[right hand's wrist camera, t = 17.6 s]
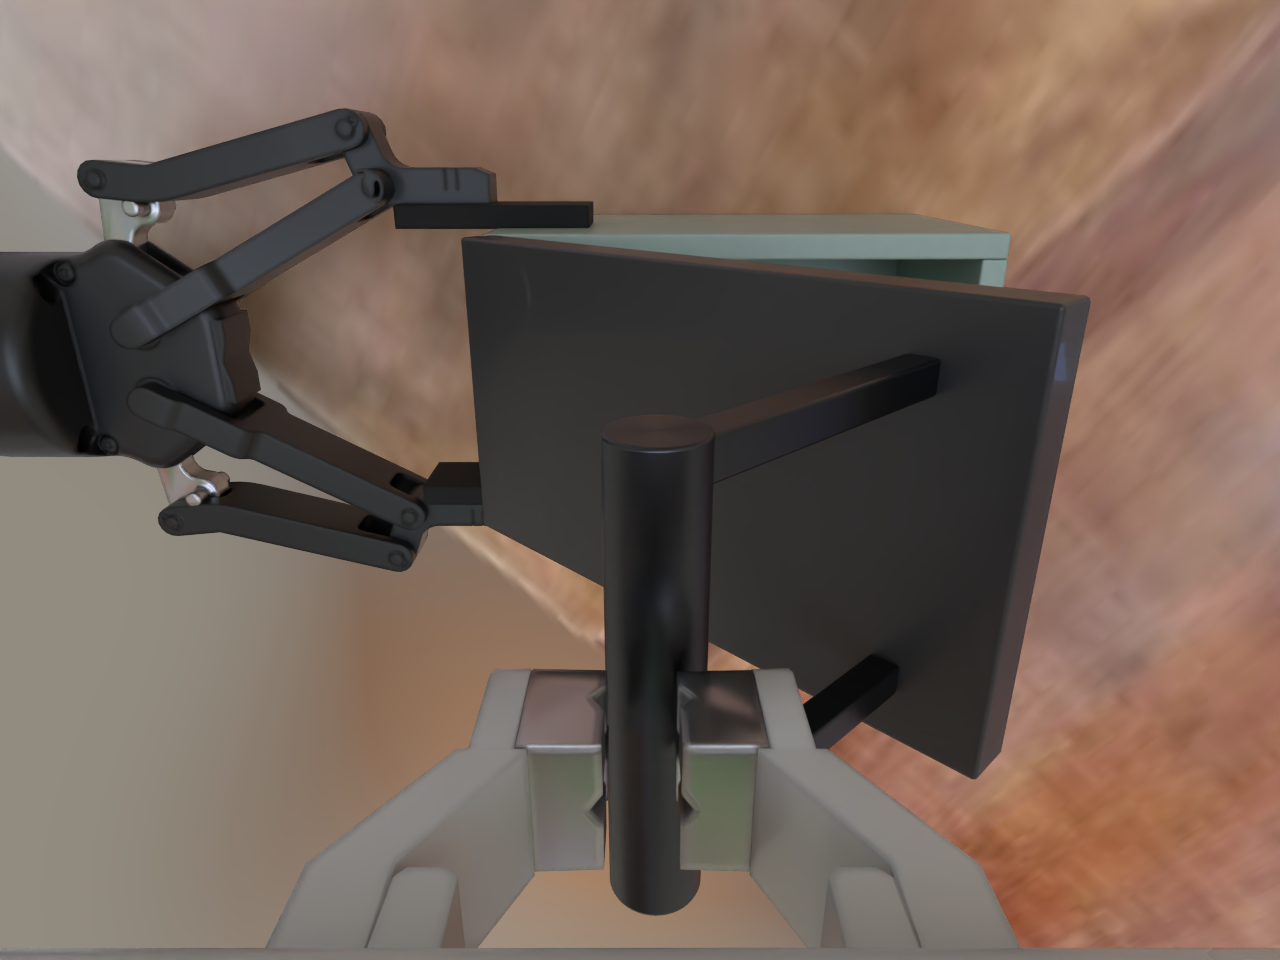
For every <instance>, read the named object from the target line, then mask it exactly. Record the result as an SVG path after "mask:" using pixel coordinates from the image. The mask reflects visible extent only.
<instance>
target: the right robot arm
mask: <svg viewBox="0 0 1280 960" xmlns="http://www.w3.org/2000/svg"><path fill="white" fill-rule="evenodd" d="M675 701H676V720H677V724H676V725H675V788H676V800H677V801H678V841H679V856H680V870H716V871H750V876H751V877H752V878H753V879H754V881H755V882H756V883H757V885H758V886H759V887H760V888H761V890H762V891H763V892H764V893H765V895H766V896H767V897H768V898H769V900H770V901H771V902H772V904H773V905H774V906H775V907H776V909H777V910H778V911H779V912H780V914H781V915H782V916H783V917H784V919H785V920H786V921H787V923H788V924H789V925H790V926H791V928H792V929H793V930H794V931H795V933H796V934H797V935H798V936H799V938H800V939H801V940H802V941H803V943H804V944H805V945H806V947H807V948H478V946H479V945H480V944H481V943H482V941H483V940H484V939H485V938H486V936H487V935H488V934H489V933H490V931H491V930H492V929H493V927H494V926H495V925H496V924H497V922H498V921H499V920H500V919H501V917H502V916H503V915H504V914H505V912H506V911H507V910H508V908H509V907H510V906H511V905H512V903H513V902H514V901H515V899H516V898H517V897H518V896H519V895H520V893H521V892H522V891H523V889H524V888H525V887H526V886H527V884H528V883H529V882H530V881H531V879H532V878H533V877H534V871H566V870H602V869H604V859H605V841H606V801H607V800H608V779H609V726H608V725H607V717H608V675H607V670H560V669H533V670H531V669H495V670H494V671H493V672H492V673H491V674H490V677H489V680H488V683H487V687H486V690H485V693H484V697H483V700H482V704H481V707H480V710H479V714H478V717H477V721H476V724H475V727H474V731H473V734H472V737H471V741H470V744H469V748H468V749H456V750H455V751H454V752H452V753H451V754H450V755H448V756H447V757H446V758H444V759H443V760H442V761H440V762H439V763H438V764H436V765H435V766H434V767H432V768H431V769H430V770H428V771H427V772H426V773H424V774H423V775H422V776H421V777H419V778H418V779H417V780H415V781H414V782H413V783H411V784H410V785H409V786H407V787H406V788H405V789H403V790H402V791H401V792H399V793H398V794H397V795H395V796H394V797H393V798H392V799H390V800H389V801H388V802H386V803H385V804H384V805H382V806H381V807H380V808H378V809H377V810H376V811H374V812H373V813H372V814H370V815H369V816H368V817H366V818H365V819H364V820H362V821H361V822H360V823H358V824H357V825H356V826H355V827H353V828H352V829H351V830H349V831H348V832H347V833H345V834H344V835H343V836H341V837H340V838H339V839H337V840H336V841H335V842H333V843H332V844H331V845H329V846H328V847H327V848H325V849H324V850H323V851H322V852H320V853H319V854H318V855H316V856H315V857H314V858H312V859H311V860H310V861H308V862H307V863H306V865H305V867H304V869H303V871H302V873H301V875H300V877H299V879H298V881H297V883H296V885H295V887H294V889H293V891H292V893H291V896H290V898H289V900H288V902H287V904H286V906H285V908H284V910H283V912H282V914H281V916H280V918H279V920H278V923H277V925H276V927H275V929H274V931H273V933H272V935H271V937H270V939H269V941H268V943H267V945H266V947H265V948H0V960H1280V948H1021V947H1020V945H1019V943H1018V941H1017V939H1016V937H1015V935H1014V933H1013V931H1012V928H1011V926H1010V924H1009V922H1008V920H1007V918H1006V916H1005V914H1004V912H1003V910H1002V908H1001V906H1000V904H999V902H998V900H997V897H996V895H995V893H994V891H993V889H992V887H991V885H990V883H989V881H988V879H987V877H986V875H985V873H984V871H983V869H982V867H981V864H979V863H978V862H977V861H975V860H974V859H973V858H971V857H970V856H969V855H967V854H966V853H965V852H963V851H962V850H961V849H959V848H958V847H957V846H955V845H954V844H953V843H951V842H950V841H949V840H947V839H946V838H945V837H944V836H942V835H941V834H940V833H938V832H937V831H936V830H934V829H933V828H932V827H930V826H929V825H928V824H926V823H925V822H924V821H922V820H921V819H920V818H918V817H917V816H916V815H914V814H913V813H912V812H910V811H909V810H908V809H906V808H905V807H904V806H902V805H901V804H900V803H899V802H897V801H896V800H895V799H893V798H892V797H891V796H889V795H888V794H887V793H885V792H884V791H883V790H881V789H880V788H879V787H877V786H876V785H875V784H873V783H872V782H871V781H869V780H868V779H867V778H865V777H864V776H863V775H861V774H860V773H859V772H858V771H856V770H855V769H854V768H852V767H851V766H850V765H848V764H847V763H846V762H844V761H843V760H842V759H840V758H839V757H838V756H836V755H835V754H834V753H832V752H831V751H830V750H828V749H816V746H815V743H814V739H813V736H812V733H811V730H810V726H809V723H808V720H807V717H806V713H805V710H804V707H803V704H802V700H801V697H800V694H799V691H798V687H797V684H796V681H795V678H794V674H793V672H792V671H791V670H790V669H789V668H780V669H752V670H735V671H676V692H675Z"/></svg>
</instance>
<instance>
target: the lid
mask: <svg viewBox="0 0 1280 960" xmlns="http://www.w3.org/2000/svg"><path fill="white" fill-rule="evenodd" d="M461 243H462V256H463V268H464V281H465V293H466V305H467V318H468V330H469V343H470V355H471V368H472V380H473V392H474V405H475V417H476V430H477V442H478V455H479V467H480V479H481V492H482V504H483V517H484V524H485V525H486V526H488V527H490V528H492V529H494V530H496V531H498V532H500V533H502V534H503V535H505V536H507V537H509V538H511V539H513V540H515V541H517V542H519V543H521V544H523V545H524V546H526V547H528V548H530V549H532V550H534V551H536V552H538V553H540V554H542V555H544V556H546V557H547V558H549V559H551V560H553V561H555V562H557V563H559V564H561V565H563V566H565V567H567V568H569V569H570V570H572V571H574V572H576V573H578V574H580V575H582V576H584V577H586V578H588V579H590V580H592V581H593V582H595V583H597V584H599V585H601V586H603V587H604V622H605V668H606V670H607V675H608V717H607V725H608V726H609V779H608V808H609V853H610V882H611V886H612V889H613V891H614V893H615V895H616V896H617V897H618V899H619V900H620V901H621V902H622V903H623V904H624V905H625V906H627V907H628V908H630V909H631V910H633V911H636V912H638V913H641V914H646V915H655V916H656V915H666V914H670V913H673V912H676V911H678V910H680V909H682V908H683V907H685V906H686V905H687V904H688V903H689V902H690V901H691V900H692V899H693V897H694V896H695V895H696V893H697V891H698V888H699V885H700V875H701V870H680V856H679V841H678V801H677V800H676V788H675V725H676V724H677V720H676V701H675V692H676V671H707V664H708V642H710V643H712V644H714V645H716V646H718V647H720V648H722V649H724V650H726V651H728V652H729V653H731V654H733V655H735V656H737V657H739V658H741V659H743V660H745V661H747V662H749V663H751V664H752V665H754V666H756V667H758V668H760V669H780V668H789V669H790V670H791V671H792V672H793V674H794V678H795V681H796V684H797V687H798V689H800V690H802V691H804V692H806V693H808V694H810V695H812V696H814V697H812V698H811V699H810V700H808V701H807V702H806V703H804V704H803V707H804V710H805V713H806V717H807V720H808V723H809V726H810V730H811V733H812V736H813V739H814V743H815V746H816V749H830V748H831V747H832V746H833V745H834V744H836V743H837V742H838V741H839V740H840V739H842V738H843V737H844V736H845V735H846V734H847V733H849V732H850V731H851V730H852V729H853V728H855V727H856V726H857V725H858V724H859V723H861V722H864V723H865V724H867V725H869V726H871V727H873V728H875V729H877V730H879V731H881V732H883V733H885V734H887V735H888V736H890V737H892V738H894V739H896V740H898V741H900V742H902V743H904V744H906V745H908V746H910V747H911V748H913V749H915V750H917V751H919V752H921V753H923V754H925V755H927V756H929V757H931V758H933V759H934V760H936V761H938V762H940V763H942V764H944V765H946V766H948V767H950V768H952V769H954V770H955V771H957V772H959V773H961V774H963V775H965V776H967V777H969V778H971V779H977V778H978V776H979V775H980V774H981V773H982V772H983V771H984V770H985V769H986V768H987V766H988V765H989V764H990V763H991V762H992V761H993V760H994V759H995V758H996V756H997V755H998V754H999V753H1000V752H1001V748H1002V743H1003V738H1004V733H1005V728H1006V723H1007V718H1008V713H1009V708H1010V703H1011V698H1012V693H1013V688H1014V683H1015V678H1016V673H1017V668H1018V663H1019V658H1020V653H1021V648H1022V643H1023V638H1024V633H1025V628H1026V623H1027V618H1028V613H1029V608H1030V603H1031V598H1032V593H1033V588H1034V583H1035V578H1036V573H1037V568H1038V563H1039V558H1040V553H1041V548H1042V543H1043V538H1044V533H1045V528H1046V523H1047V518H1048V513H1049V508H1050V503H1051V498H1052V493H1053V488H1054V483H1055V478H1056V473H1057V468H1058V463H1059V458H1060V453H1061V448H1062V443H1063V438H1064V433H1065V428H1066V423H1067V418H1068V413H1069V408H1070V403H1071V398H1072V393H1073V388H1074V383H1075V378H1076V373H1077V368H1078V363H1079V357H1080V352H1081V347H1082V342H1083V337H1084V332H1085V327H1086V322H1087V317H1088V312H1089V307H1090V298H1089V297H1087V296H1083V295H1073V294H1063V293H1054V292H1044V291H1034V290H1024V289H1015V288H1005V287H995V286H985V285H976V284H966V283H956V282H946V281H937V280H927V279H917V278H907V277H898V276H888V275H878V274H868V273H859V272H849V271H839V270H829V269H820V268H810V267H800V266H790V265H781V264H771V263H761V262H751V261H742V260H732V259H722V258H712V257H703V256H693V255H683V254H673V253H664V252H654V251H644V250H634V249H625V248H615V247H605V246H595V245H586V244H576V243H566V242H556V241H547V240H537V239H527V238H517V237H508V236H498V235H488V236H475V237H464V238H462V240H461Z"/></svg>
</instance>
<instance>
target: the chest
mask: <svg viewBox="0 0 1280 960" xmlns="http://www.w3.org/2000/svg"><path fill="white" fill-rule="evenodd" d="M488 235H498V236H508V237H517V238H527V239H537V240H547V241H556V242H566V243H576V244H586V245H595V246H605V247H615V248H625V249H634V250H644V251H654V252H664V253H673V254H683V255H693V256H703V257H712V258H722V259H732V260H742V261H751V262H761V263H771V264H781V265H790V266H800V267H810V268H820V269H829V270H839V271H849V272H859V273H868V274H878V275H888V276H898V277H907V278H917V279H927V280H937V281H946V282H956V283H966V284H976V285H985V286H995V287H1003V285H1004V279H1005V273H1006V267H1007V260H1005V259H1006V258H1007V257H1008V252H1009V245H1010V239H1011V234H1010V233H1007V232H1002V231H997V230H992V229H987V228H982V227H977V226H972V225H967V224H962V223H957V222H952V221H947V220H942V219H937V218H932V217H926V216H921V215H917V214H665V215H593V224H592V225H591V226H590V227H589V228H497V229H495V230H493V231H491V232H488V233H486V234H484V235H483V236H488Z"/></svg>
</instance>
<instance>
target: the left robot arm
mask: <svg viewBox="0 0 1280 960" xmlns="http://www.w3.org/2000/svg"><path fill="white" fill-rule="evenodd" d="M342 158H345V159H346V161H347V164H348V166H349V168H350V170H351V172H352V174H353V176H352V177H350V178H348V179H347V180H345V181H343V182H342V183H340V184H339V185H337V186H335V187H334V188H332V189H330V190H329V191H327V192H325V193H324V194H322V195H321V196H319V197H317V198H316V199H314V200H312V201H311V202H309V203H308V204H306V205H304V206H303V207H301V208H299V209H298V210H296V211H294V212H293V213H291V214H290V215H288V216H286V217H285V218H283V219H281V220H280V221H278V222H276V223H275V224H273V225H272V226H270V227H268V228H267V229H265V230H263V231H262V232H260V233H259V234H257V235H255V236H254V237H252V238H250V239H249V240H247V241H245V242H244V243H242V244H241V245H239V246H237V247H236V248H234V249H232V250H231V251H229V252H228V253H226V254H224V255H223V256H221V257H219V258H218V259H216V260H214V261H212V262H210V263H207V264H205V265H203V266H201V267H199V268H197V269H195V270H193V269H191V268H190V267H188V266H187V265H185V264H184V263H182V262H181V261H179V260H178V259H176V258H174V257H173V256H171V255H170V254H168V253H167V252H165V251H164V250H162V249H161V248H159V247H158V246H156V245H155V244H153V243H151V242H149V241H148V232H149V230H150V228H151V227H152V226H154V225H155V224H159V223H164V222H167V221H169V220H170V219H171V217H172V216H173V213H174V211H175V209H176V203H175V201H177V200H188V199H199V198H203V197H208V196H212V195H216V194H219V193H223V192H226V191H230V190H233V189H237V188H240V187H244V186H247V185H251V184H254V183H258V182H261V181H265V180H268V179H272V178H275V177H279V176H282V175H286V174H289V173H293V172H296V171H300V170H303V169H307V168H310V167H314V166H317V165H321V164H325V163H328V162H332V161H335V160H339V159H342ZM77 178H78V181H79V184H80V186H81V187H82V189H83V190H84V191H85V192H86V193H87V194H89V195H90V196H92V197H95V198H99V203H100V210H101V217H102V225H103V232H104V239H105V241H103V242H100V243H98V244H97V245H95V246H94V247H93V248H91V249H89V250H88V251H85V252H0V456H8V457H100V456H125V457H129V458H132V459H135V460H138V461H140V462H142V463H144V464H146V465H148V466H151V467H155V468H157V469H158V472H159V475H160V478H161V481H162V484H163V487H164V490H165V493H166V496H167V499H168V502H169V506H168V507H166V508H165V509H163V510H162V511H161V512H160V513H159V517H158V522H159V525H160V526H161V528H162V529H163V530H164V531H165V532H166V533H168V534H171V535H174V536H183V535H194V534H205V533H216V532H222V533H226V534H231V535H235V536H240V537H244V538H248V539H253V540H257V541H262V542H266V543H271V544H275V545H280V546H284V547H289V548H293V549H298V550H302V551H306V552H311V553H316V554H320V555H325V556H329V557H333V558H338V559H342V560H347V561H351V562H356V563H360V564H364V565H369V566H374V567H378V568H382V569H387V570H391V571H397V572H402V571H405V570H407V569H408V568H410V567H411V565H412V563H413V562H414V560H415V558H416V556H417V555H418V553H419V551H420V549H421V548H422V546H423V544H424V542H425V541H426V539H427V536H428V529H429V528H431V527H433V526H472V525H474V526H482V525H484V526H486V525H485V524H484V517H483V504H482V492H481V479H480V467H479V462H439V464H438V465H437V467H436V468H435V469H434V471H433V472H432V474H431V475H430V477H429V478H428V479H426V478H423V477H421V476H419V475H417V474H415V473H413V472H411V471H409V470H407V469H405V468H402V467H400V466H398V465H396V464H394V463H392V462H390V461H388V460H386V459H383V458H381V457H379V456H377V455H375V454H373V453H371V452H369V451H367V450H365V449H362V448H360V447H358V446H356V445H354V444H352V443H350V442H348V441H346V440H343V439H341V438H339V437H337V436H335V435H333V434H331V433H329V432H327V431H324V430H322V429H320V428H318V427H316V426H314V425H312V424H310V423H308V422H306V421H303V420H301V419H299V418H297V417H295V416H293V415H291V414H289V413H288V412H287V409H286V408H285V407H284V406H283V405H282V404H280V403H278V402H276V401H274V400H272V399H270V398H268V397H265V396H263V395H261V394H259V393H257V392H258V391H260V390H261V388H260V382H259V377H258V371H257V369H256V366H255V364H254V362H253V360H252V358H251V355H250V353H249V339H250V326H249V320H248V314H247V310H240V308H239V306H238V304H237V303H236V302H237V301H239V300H240V299H242V298H244V297H245V296H247V295H249V294H250V293H252V292H254V291H255V290H257V289H259V288H260V287H262V286H263V285H265V284H266V283H267V282H268V281H269V280H271V279H273V278H274V277H276V276H278V275H279V274H281V273H283V272H284V271H286V270H288V269H289V268H291V267H293V266H295V265H296V264H298V263H300V262H301V261H303V260H305V259H306V258H308V257H310V256H311V255H313V254H315V253H316V252H318V251H320V250H321V249H323V248H325V247H326V246H328V245H330V244H331V243H333V242H335V241H336V240H338V239H340V238H341V237H343V236H345V235H346V234H348V233H350V232H351V231H353V230H355V229H356V228H358V227H360V226H361V225H363V224H365V223H366V222H368V221H370V220H371V219H373V218H375V217H376V216H378V215H380V214H381V213H383V212H385V211H386V210H388V209H390V208H391V207H393V208H394V218H395V227H396V229H497V228H589V227H590V226H591V225H592V224H593V202H497V187H496V174H495V173H493V172H491V171H488V170H486V169H483V168H415V167H409V166H406V165H404V164H402V163H401V162H400V161H399V160H398V159H397V158H396V157H395V156H394V154H393V152H392V150H391V148H390V146H389V143H388V141H387V139H386V129H385V126H384V124H383V122H382V120H381V119H380V118H379V117H378V116H376V115H374V114H372V113H368V112H363V111H357V110H352V109H346V108H345V109H337V110H333V111H330V112H326V113H323V114H319V115H316V116H313V117H309V118H306V119H302V120H299V121H295V122H292V123H289V124H285V125H282V126H278V127H275V128H271V129H268V130H264V131H261V132H258V133H254V134H251V135H247V136H244V137H240V138H237V139H234V140H230V141H227V142H223V143H220V144H216V145H213V146H209V147H206V148H203V149H199V150H196V151H192V152H189V153H185V154H182V155H179V156H175V157H172V158H168V159H165V160H161V161H158V162H148V161H139V160H89V161H85V162H83V163H82V164H81V165H80V167H79V168H78V171H77ZM206 445H207V446H209V447H211V448H213V449H215V450H217V451H220V452H222V453H224V454H226V455H228V456H231V457H233V458H238V459H252V460H255V461H257V462H260V463H262V464H264V465H266V466H268V467H270V468H273V469H275V470H277V471H279V472H281V473H283V474H286V475H288V476H290V477H292V478H294V479H296V480H299V481H301V482H303V483H305V484H307V485H309V486H312V487H314V488H316V489H318V490H320V491H323V492H325V493H327V494H329V495H331V496H333V497H336V498H338V499H340V500H342V501H344V502H346V503H349V504H351V505H349V504H345V503H341V502H336V501H332V500H328V499H323V498H319V497H314V496H310V495H306V494H301V493H297V492H293V491H288V490H284V489H279V488H275V487H271V486H267V485H262V484H256V483H251V482H229V481H230V478H229V476H228V475H227V474H226V473H225V472H216V471H210V470H206V469H203V468H202V467H200V466H199V465H198V464H197V463H196V462H195V460H194V457H193V455H194V454H196V453H197V452H198V451H199V450H201V449H202V448H203V447H204V446H206Z"/></svg>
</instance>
